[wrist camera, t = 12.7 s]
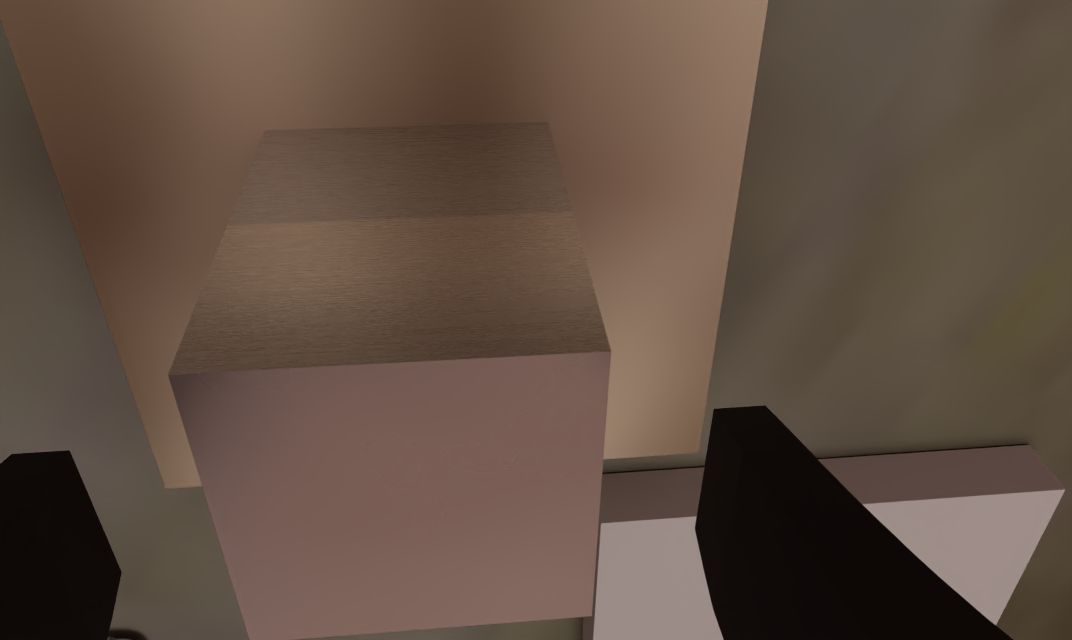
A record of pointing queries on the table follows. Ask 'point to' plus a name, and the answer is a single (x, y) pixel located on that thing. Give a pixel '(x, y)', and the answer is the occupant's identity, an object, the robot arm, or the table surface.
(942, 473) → the stand
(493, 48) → the stand
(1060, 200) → the table surface
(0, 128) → the table surface
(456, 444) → the block
